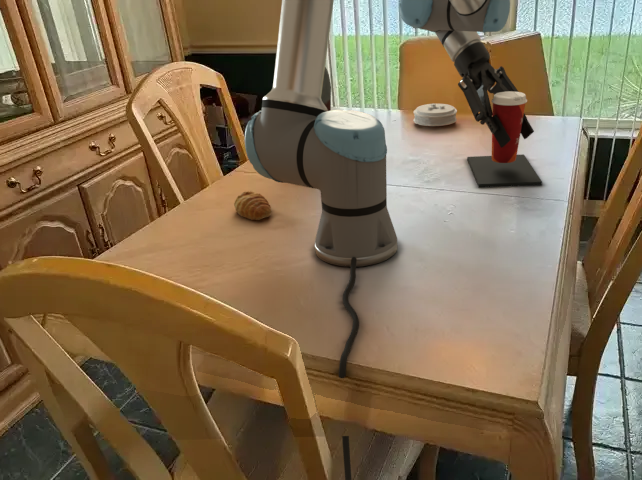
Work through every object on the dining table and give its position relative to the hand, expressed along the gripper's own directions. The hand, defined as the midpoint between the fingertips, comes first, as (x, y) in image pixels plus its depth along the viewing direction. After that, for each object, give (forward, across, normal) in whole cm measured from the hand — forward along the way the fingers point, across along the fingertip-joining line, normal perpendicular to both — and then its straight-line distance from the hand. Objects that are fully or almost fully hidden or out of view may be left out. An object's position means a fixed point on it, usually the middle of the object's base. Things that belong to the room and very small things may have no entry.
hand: (517, 139), depth 139 cm
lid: (-26, -21, -38) cm, 50 cm away
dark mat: (+3, 0, -8) cm, 9 cm away
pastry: (-13, +55, -24) cm, 61 cm away
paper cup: (+1, 0, -6) cm, 6 cm away
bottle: (-27, +22, -39) cm, 52 cm away
